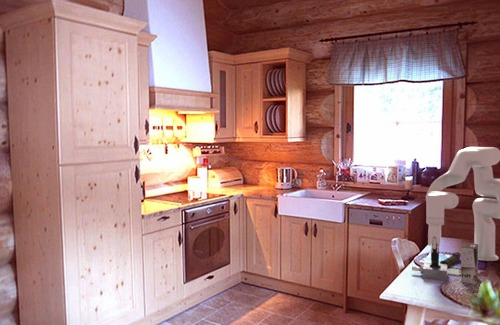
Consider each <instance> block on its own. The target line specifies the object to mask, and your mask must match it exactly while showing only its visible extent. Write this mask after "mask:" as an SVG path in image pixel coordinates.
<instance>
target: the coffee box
mask: <svg viewBox="0 0 500 325" xmlns="http://www.w3.org/2000/svg"><path fill="white" fill-rule="evenodd" d="M478 275H479V260H478V244H474V243H471V242H470V243H469V242H463V243H462V244H461V247H460V282H461V283H466V284H467V283H468V284H472V285H477V283H478V277H479V276H478Z"/></svg>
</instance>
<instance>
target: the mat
mask: <svg viewBox="0 0 500 325" xmlns="http://www.w3.org/2000/svg"><path fill="white" fill-rule="evenodd" d="M449 270H450V271H449ZM447 275H458V276H459V275H460V269H456V268H450V267H448V268H447Z"/></svg>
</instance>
